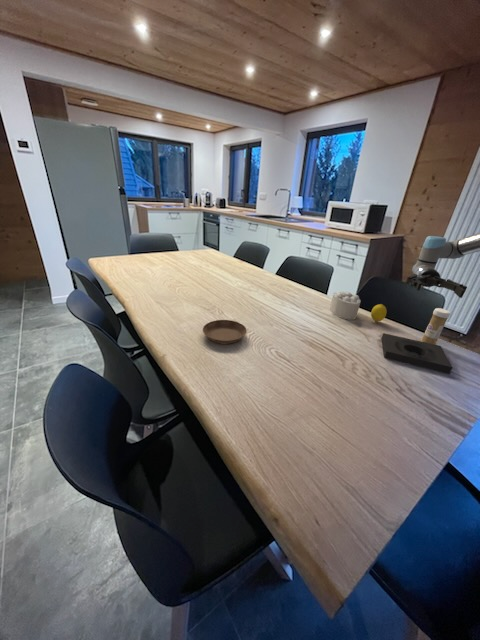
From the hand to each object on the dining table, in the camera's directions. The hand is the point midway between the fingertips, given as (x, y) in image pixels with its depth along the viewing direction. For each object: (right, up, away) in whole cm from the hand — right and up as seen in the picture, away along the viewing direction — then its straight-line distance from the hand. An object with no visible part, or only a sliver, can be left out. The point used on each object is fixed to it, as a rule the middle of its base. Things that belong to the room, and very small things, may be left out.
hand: (440, 290), depth 97 cm
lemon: (-16, -12, +14) cm, 25 cm away
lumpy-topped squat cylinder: (-28, -8, +20) cm, 35 cm away
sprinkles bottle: (-5, -20, 0) cm, 20 cm away
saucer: (-79, -16, -6) cm, 81 cm away
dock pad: (-16, -22, -8) cm, 29 cm away
